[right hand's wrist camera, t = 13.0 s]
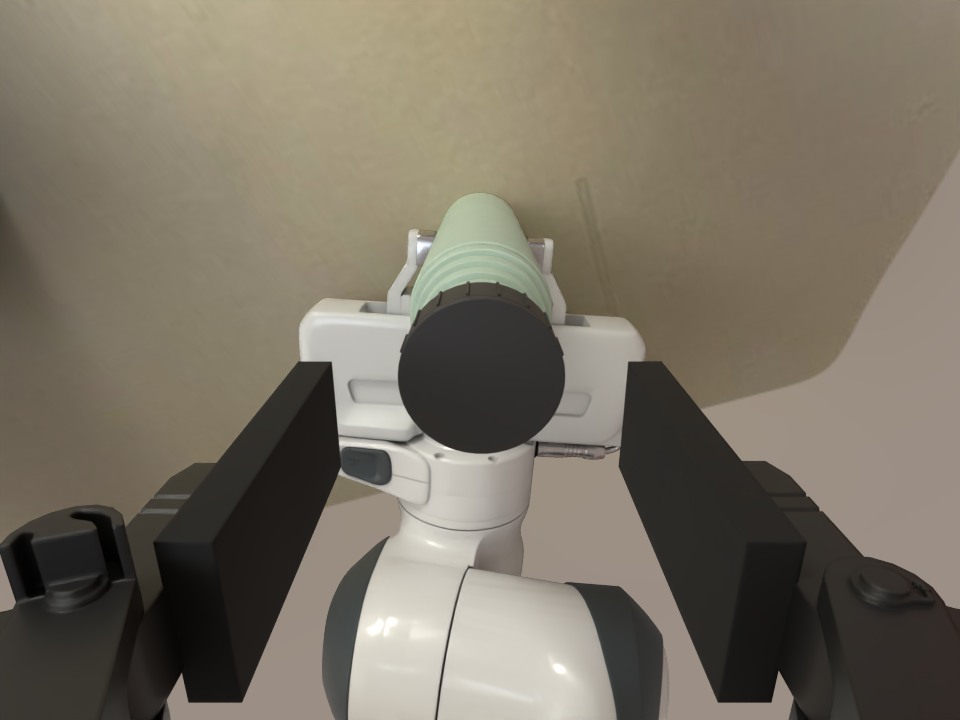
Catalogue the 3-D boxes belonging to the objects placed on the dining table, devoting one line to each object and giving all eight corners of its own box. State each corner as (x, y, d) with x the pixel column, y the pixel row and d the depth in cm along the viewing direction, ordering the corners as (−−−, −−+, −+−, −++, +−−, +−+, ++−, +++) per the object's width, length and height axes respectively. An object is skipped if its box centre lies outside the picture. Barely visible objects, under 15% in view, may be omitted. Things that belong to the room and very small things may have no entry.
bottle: (535, 236, 41) (616, 383, 17) (476, 287, 42) (472, 492, 18) (483, 175, 40) (491, 237, 15) (424, 229, 41) (344, 366, 16)
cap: (590, 362, 18) (602, 387, 16) (474, 452, 19) (474, 485, 17) (489, 246, 17) (491, 260, 15) (372, 349, 18) (360, 373, 16)
